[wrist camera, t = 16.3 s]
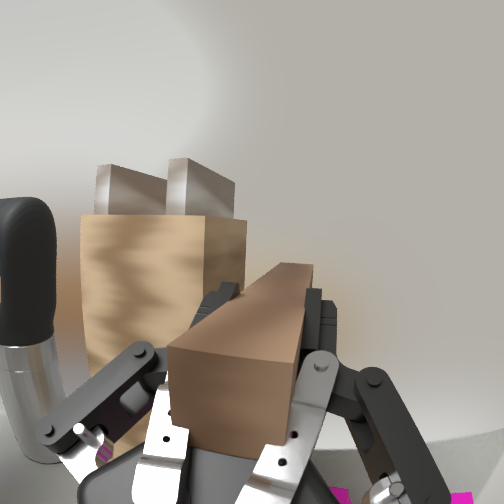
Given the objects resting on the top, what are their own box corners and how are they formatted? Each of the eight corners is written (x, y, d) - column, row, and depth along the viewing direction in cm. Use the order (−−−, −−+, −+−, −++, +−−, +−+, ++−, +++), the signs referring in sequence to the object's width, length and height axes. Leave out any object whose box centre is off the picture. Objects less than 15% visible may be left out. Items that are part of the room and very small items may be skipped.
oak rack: (130, 524, 21) (84, 167, 18) (167, 474, 31) (154, 184, 28) (278, 563, 18) (331, 158, 15) (291, 499, 28) (326, 185, 25)
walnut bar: (172, 441, 8) (166, 345, 8) (279, 294, 31) (280, 262, 31) (281, 462, 7) (293, 362, 7) (311, 296, 31) (313, 264, 30)
